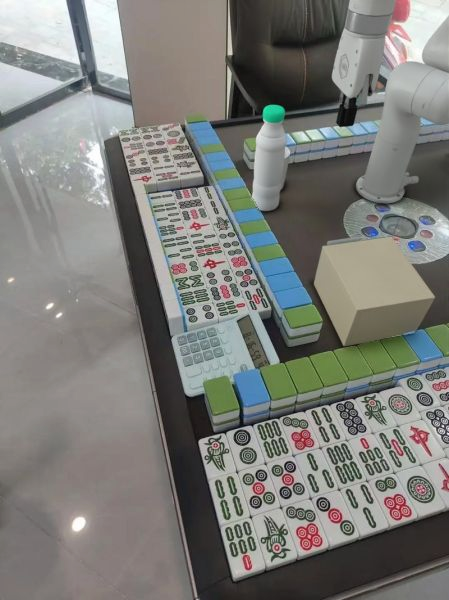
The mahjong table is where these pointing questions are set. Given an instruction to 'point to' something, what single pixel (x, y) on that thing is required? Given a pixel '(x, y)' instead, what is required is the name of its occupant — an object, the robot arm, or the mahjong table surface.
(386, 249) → the cabinet
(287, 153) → the white cup
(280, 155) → the water bottle
